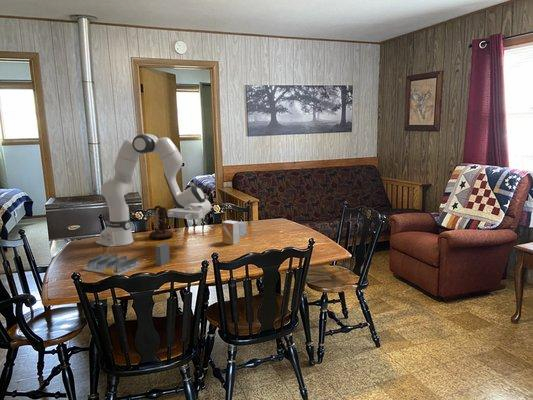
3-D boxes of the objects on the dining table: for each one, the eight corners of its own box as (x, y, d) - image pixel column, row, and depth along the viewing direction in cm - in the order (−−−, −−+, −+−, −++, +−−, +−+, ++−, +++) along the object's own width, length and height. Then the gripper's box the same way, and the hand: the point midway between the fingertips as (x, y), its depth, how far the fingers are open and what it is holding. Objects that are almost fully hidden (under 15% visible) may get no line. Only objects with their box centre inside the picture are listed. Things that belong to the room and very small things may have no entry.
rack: (81, 270, 193) (81, 261, 192) (107, 259, 208) (107, 251, 207) (116, 276, 184) (116, 267, 184) (141, 265, 199) (140, 256, 199)
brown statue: (145, 236, 253) (143, 206, 249) (167, 233, 261) (166, 203, 258) (154, 241, 241) (152, 209, 238) (177, 237, 250) (175, 206, 246)
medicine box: (241, 234, 257) (241, 221, 256) (246, 235, 254) (246, 222, 253) (233, 236, 251) (232, 223, 250) (238, 237, 248) (238, 224, 247)
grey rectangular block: (156, 265, 199) (155, 246, 197) (165, 261, 205) (164, 242, 203) (161, 266, 198) (160, 247, 196) (169, 262, 204) (168, 243, 202)
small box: (222, 243, 237) (221, 222, 234) (228, 240, 242) (227, 219, 240) (233, 245, 233) (232, 223, 230) (239, 242, 238) (238, 221, 236)
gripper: (175, 204, 225) (160, 209, 213) (206, 207, 217) (192, 212, 205) (176, 215, 226) (161, 220, 214) (207, 218, 218) (193, 223, 206)
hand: (176, 216), depth 209 cm, fingers open, 8 cm apart
